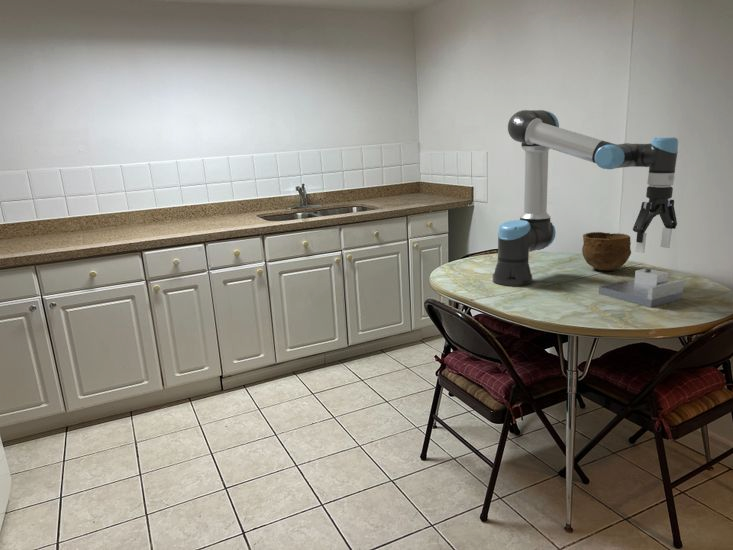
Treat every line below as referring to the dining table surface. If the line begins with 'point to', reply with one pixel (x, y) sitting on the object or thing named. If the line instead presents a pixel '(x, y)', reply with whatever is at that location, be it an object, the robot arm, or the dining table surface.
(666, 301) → the ledge
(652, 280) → the grey block
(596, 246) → the bowl
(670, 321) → the dining table surface
